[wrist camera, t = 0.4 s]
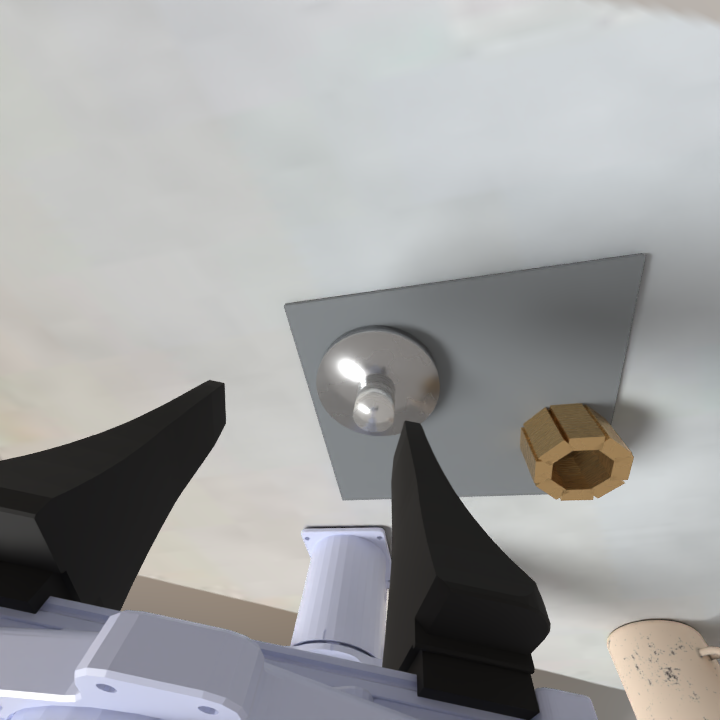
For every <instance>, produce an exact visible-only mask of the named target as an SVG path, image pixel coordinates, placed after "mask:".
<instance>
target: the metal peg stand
mask: <svg viewBox="0 0 720 720" xmlns="http://www.w3.org/2000/svg"><path fill="white" fill-rule="evenodd" d="M316 388H317V393H318V396H319V399H320V401H321V403H322V405H323V407H324V408H325V410H326V411H327V412H328V413H329V415H330V416H331V417H332V418H333V419H335V420H336V421H337V422H338V423H340V424H341V425H343V426H344V427H346V428H348V429H350V430H353V431H355V432H358V433H361V434H365V435H371V436H391V435H396V434H401V431H402V428H403V424H404V421H405V420H406V421H411V422H416V423H420V424H421V423H422V422H423V421H425V420H426V419H427V417H428V416H429V415H430V414H431V413H432V411H433V410H434V408H435V406H436V404H437V401H438V398H439V392H440V383H439V376H438V370H437V366H436V363H435V360H434V358H433V356H432V354H431V352H430V351H429V350H428V348H427V347H426V346H425V345H424V344H423V343H422V342H421V341H420V340H419V339H417V338H416V337H415V336H413V335H411V334H410V333H408V332H406V331H403V330H401V329H398V328H395V327H390V326H384V325H369V326H363V327H359V328H355V329H352V330H350V331H348V332H346V333H344V334H343V335H341V336H339V337H338V338H337V339H336V340H335V341H334V342H333V343H332V344H331V345H330V346H329V347H328V349H327V350H326V352H325V354H324V356H323V358H322V361H321V363H320V366H319V368H318V372H317V377H316Z"/></svg>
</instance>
